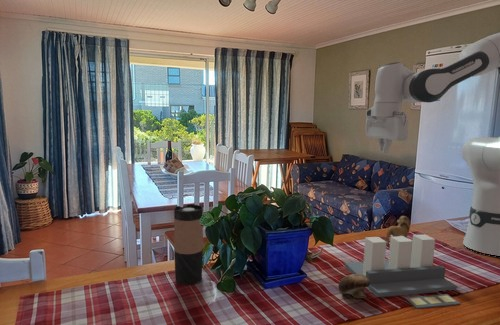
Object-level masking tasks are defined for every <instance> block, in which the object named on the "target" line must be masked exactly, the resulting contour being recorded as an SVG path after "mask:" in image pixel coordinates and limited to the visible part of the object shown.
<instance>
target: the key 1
mask: <svg viewBox="0 0 500 325" xmlns="http://www.w3.org/2000/svg"><path fill="white" fill-rule="evenodd" d="M363 250H364V251H363V252H364V253H363V262H364V263H363V272H364V273H365V274H366V271H373V270H384V267H385V260H386V253H387V245H386V241H384V239H383V238H381V237H379V236H370V237H369V236H367V237H365V238H364V248H363Z"/></svg>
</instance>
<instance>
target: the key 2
mask: <svg viewBox="0 0 500 325" xmlns="http://www.w3.org/2000/svg"><path fill="white" fill-rule="evenodd" d="M411 241H412V251H411V264H410V268H414V267H428V266H434V256H435V246H436V244H435V243H436V238H434V237H431V235H430V236H429V235H428V234H413V235H412V240H411Z"/></svg>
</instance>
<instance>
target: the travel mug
mask: <svg viewBox="0 0 500 325" xmlns="http://www.w3.org/2000/svg"><path fill="white" fill-rule="evenodd" d="M203 213H204V212H203V206H201V205H199V204H187V205H186V206H180V205H176V206H175V207H174V208H173V214H174V215H173V221H174V224H173V229H174V230H173V232H174V233H173V236H174V238H173V240H174V241H173V242H174V243H173V247H174V248H173V252H174V275H175V282H176V284H179V285H183V286H192V285H196V284H198V283H200V282H201V281H202V280H203V278H202V277H203V261H202V259H203V258H204V257H203V254H204V229H203V228H204V225H203V226H201V224H199V223H200V222H199V220H200V218H201V216H202V214H203Z"/></svg>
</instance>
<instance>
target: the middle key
mask: <svg viewBox="0 0 500 325" xmlns="http://www.w3.org/2000/svg"><path fill="white" fill-rule="evenodd" d="M412 241H413V240H412V239H410V238H406V237H404V235H401V236H397V237H393V236H390V237H389V252H388V260H389V263H388V269H400V268H410V263H411V253H412Z"/></svg>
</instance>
